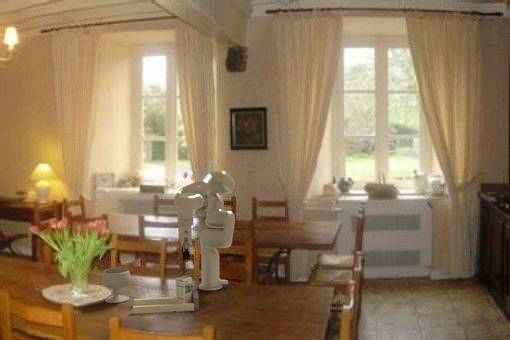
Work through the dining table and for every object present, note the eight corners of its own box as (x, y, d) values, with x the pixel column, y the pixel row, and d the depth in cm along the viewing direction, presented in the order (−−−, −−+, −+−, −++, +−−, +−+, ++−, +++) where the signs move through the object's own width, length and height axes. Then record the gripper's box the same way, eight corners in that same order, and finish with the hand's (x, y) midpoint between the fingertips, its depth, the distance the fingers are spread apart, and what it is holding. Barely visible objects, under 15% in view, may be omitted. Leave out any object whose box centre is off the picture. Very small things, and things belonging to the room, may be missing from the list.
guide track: (197, 301, 275) (197, 289, 274) (198, 310, 262) (198, 297, 262) (134, 305, 270) (134, 292, 269) (132, 313, 257) (132, 301, 257)
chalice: (123, 305, 269) (123, 274, 268) (97, 303, 272) (96, 273, 271) (135, 296, 283) (135, 267, 282) (110, 295, 286) (109, 266, 285)
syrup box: (184, 309, 263) (184, 279, 262) (175, 307, 266) (175, 277, 265) (193, 306, 267) (192, 276, 266) (184, 304, 271) (184, 275, 270)
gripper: (194, 224, 257) (194, 261, 258) (192, 218, 274) (192, 252, 275) (178, 225, 255) (178, 262, 257) (176, 219, 272) (177, 253, 274)
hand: (185, 257), depth 266 cm, fingers open, 9 cm apart
